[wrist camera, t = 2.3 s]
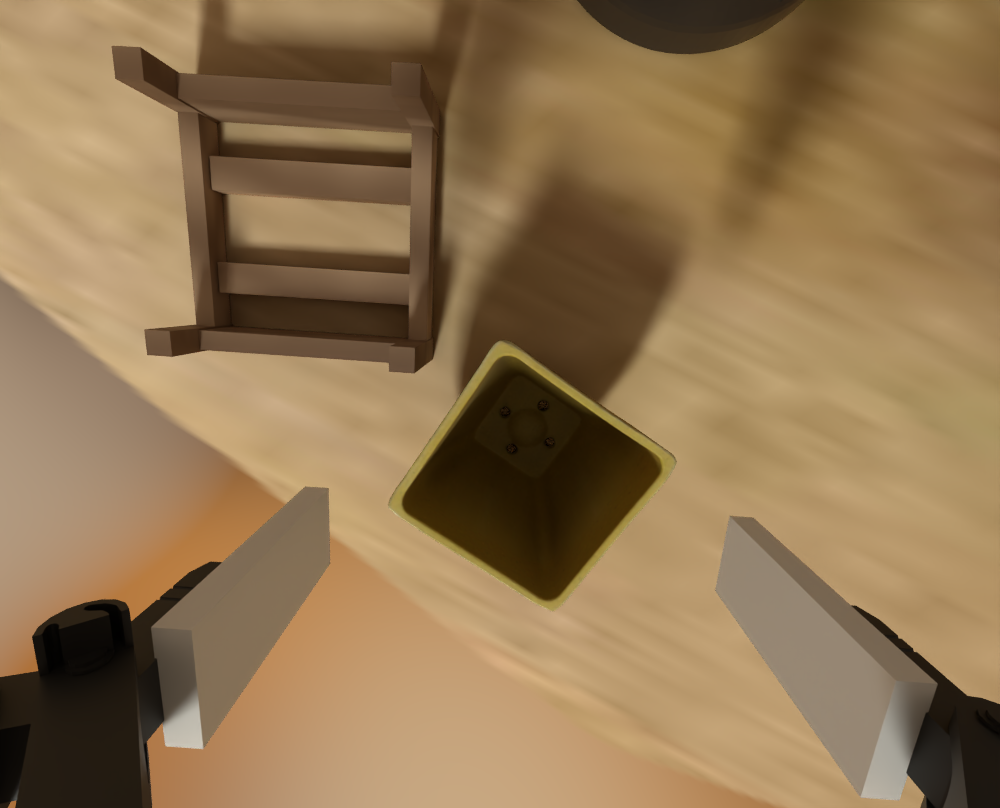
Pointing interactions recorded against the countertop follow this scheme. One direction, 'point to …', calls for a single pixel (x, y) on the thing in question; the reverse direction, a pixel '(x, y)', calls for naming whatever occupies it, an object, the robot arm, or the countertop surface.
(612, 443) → the flower pot
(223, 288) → the rack
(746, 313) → the countertop surface
